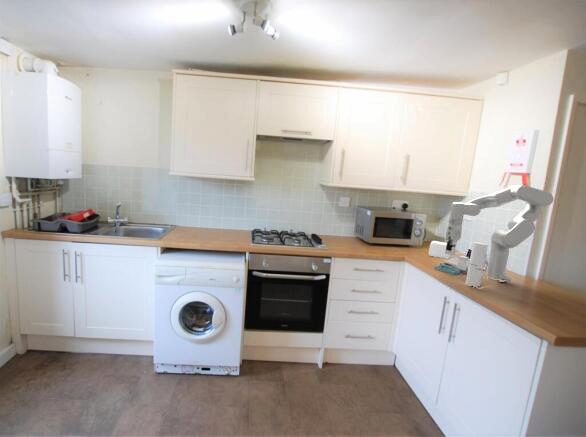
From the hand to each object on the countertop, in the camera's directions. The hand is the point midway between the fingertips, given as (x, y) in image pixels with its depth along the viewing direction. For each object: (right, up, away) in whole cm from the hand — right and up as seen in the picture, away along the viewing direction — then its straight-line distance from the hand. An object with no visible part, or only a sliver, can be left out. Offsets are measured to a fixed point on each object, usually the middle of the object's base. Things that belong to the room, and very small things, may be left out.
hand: (450, 249), depth 191 cm
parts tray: (-1, -15, +2) cm, 15 cm away
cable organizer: (+13, -10, +42) cm, 45 cm away
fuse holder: (+6, -15, +7) cm, 18 cm away
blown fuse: (0, -3, 0) cm, 3 cm away
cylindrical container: (+3, -19, -19) cm, 27 cm away
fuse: (+9, -15, +4) cm, 17 cm away
